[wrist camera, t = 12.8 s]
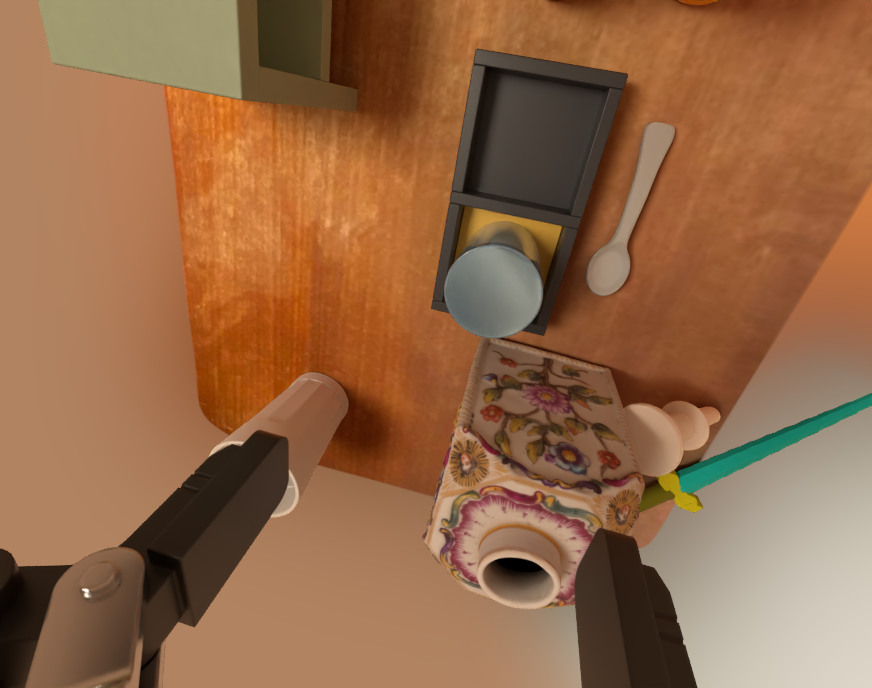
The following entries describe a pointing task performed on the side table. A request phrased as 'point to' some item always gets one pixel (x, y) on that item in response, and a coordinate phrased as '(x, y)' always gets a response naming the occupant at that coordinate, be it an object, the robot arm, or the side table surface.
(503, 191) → the tray
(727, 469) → the toy sword
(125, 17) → the shelf
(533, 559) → the decorative jar
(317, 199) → the side table surface
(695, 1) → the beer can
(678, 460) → the beige rounded piece
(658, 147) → the spoon
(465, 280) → the blue grey cylinder
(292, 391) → the cup
